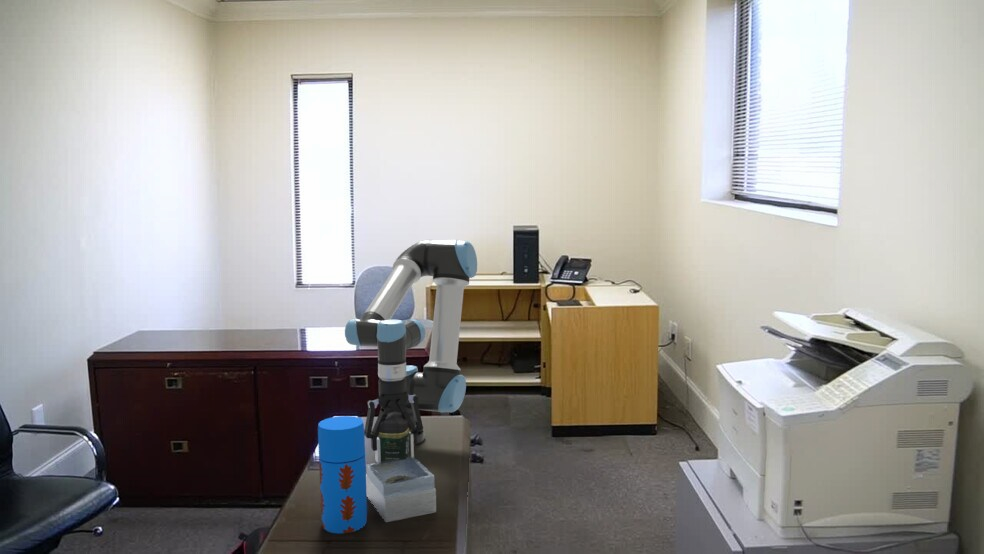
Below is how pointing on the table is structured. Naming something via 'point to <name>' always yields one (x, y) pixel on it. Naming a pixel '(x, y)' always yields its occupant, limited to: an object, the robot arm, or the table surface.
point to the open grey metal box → (400, 488)
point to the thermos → (342, 474)
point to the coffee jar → (394, 437)
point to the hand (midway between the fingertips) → (394, 458)
